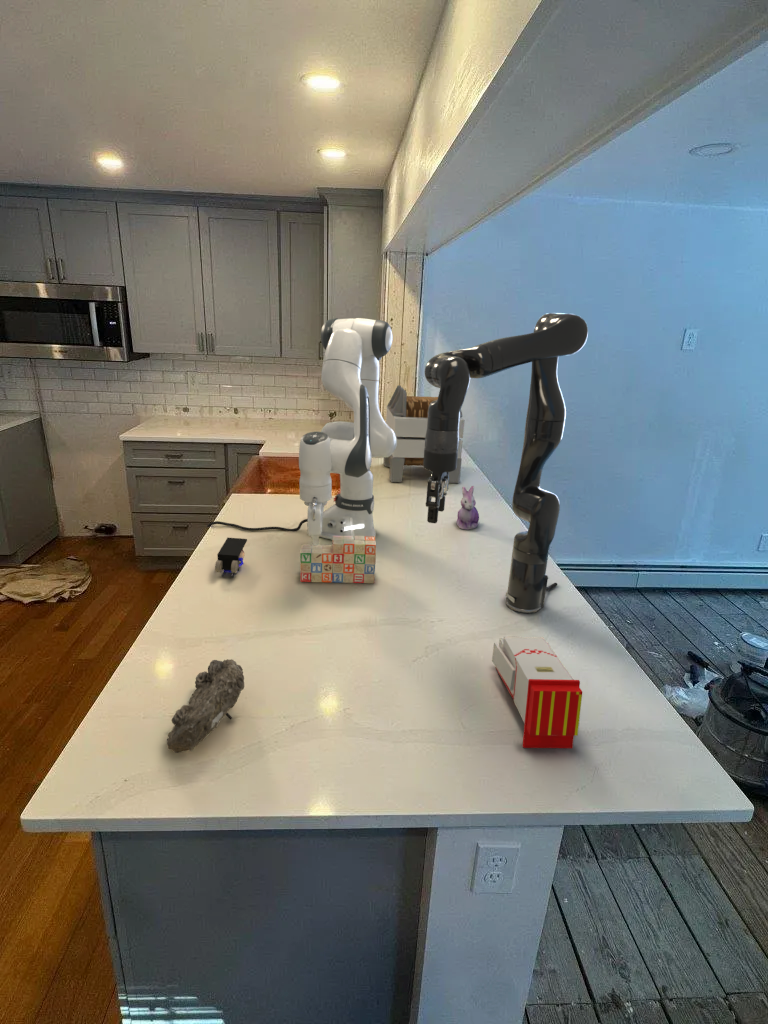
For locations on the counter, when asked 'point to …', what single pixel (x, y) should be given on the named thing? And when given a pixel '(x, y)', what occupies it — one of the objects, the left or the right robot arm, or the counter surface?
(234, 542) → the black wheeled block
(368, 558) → the stack of blocks
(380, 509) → the counter surface
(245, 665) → the counter surface
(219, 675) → the fossil
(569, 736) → the toy
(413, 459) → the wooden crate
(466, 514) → the figurine
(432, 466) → the right robot arm
